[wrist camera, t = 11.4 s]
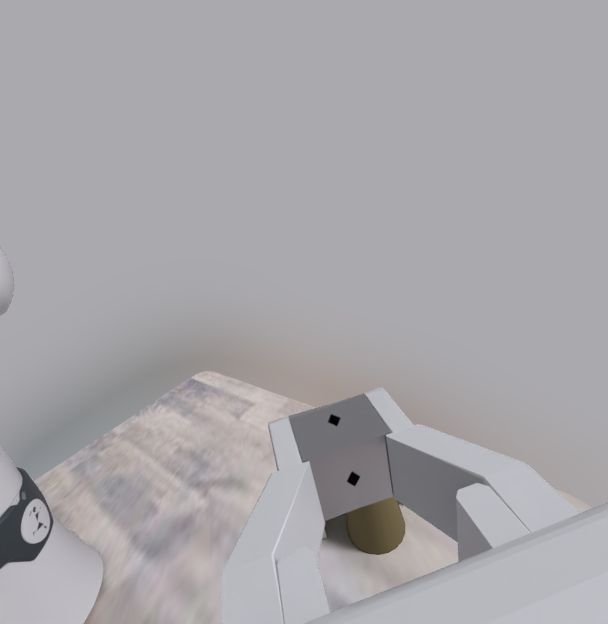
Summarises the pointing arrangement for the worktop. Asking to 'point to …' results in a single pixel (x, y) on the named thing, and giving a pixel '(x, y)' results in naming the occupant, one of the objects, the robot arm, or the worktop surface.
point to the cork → (376, 526)
